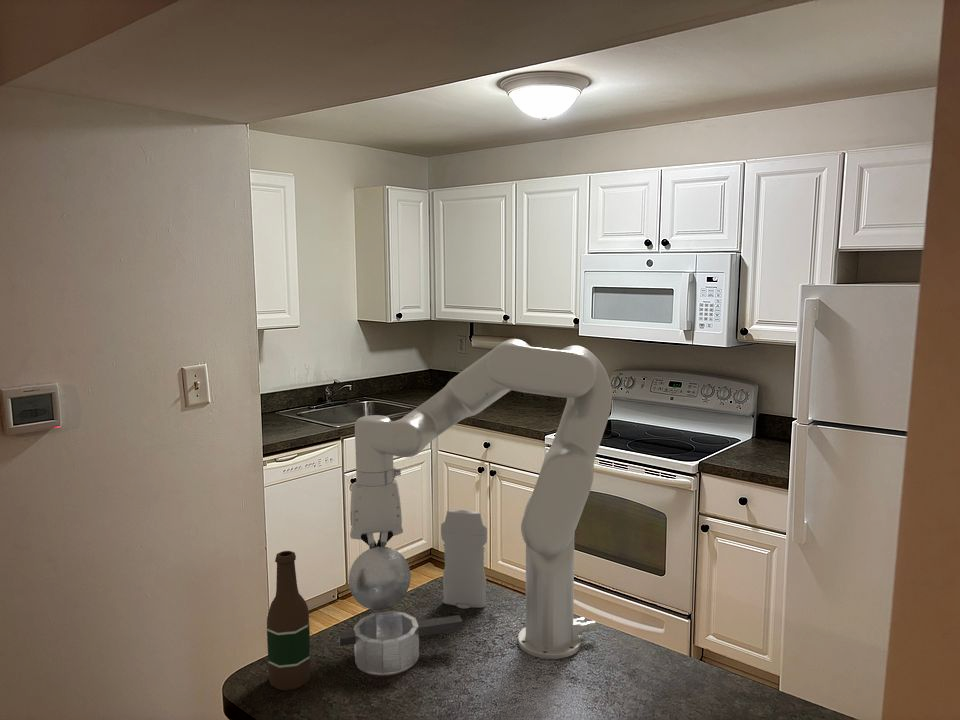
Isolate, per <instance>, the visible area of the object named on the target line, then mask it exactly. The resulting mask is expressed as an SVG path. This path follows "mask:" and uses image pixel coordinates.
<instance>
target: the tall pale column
mask: <svg viewBox="0 0 960 720" xmlns="http://www.w3.org/2000/svg"><path fill="white" fill-rule="evenodd" d="M481 514H482V513H481V512H477V511H472V510H467V509H456V510H455V509H452V510H451V509H450V510H447V511H446V515H445V519H444V521H443V522H442V523H441V524H440V535H441V536H440V537H441V540H442V542H444V543H443V545H442V546H443V547H444V548H443V551H444V552H443V553H444V554H443V556H444V557H443V558H444V563H443V564H444V565H445V566H444V569H443V574H442V579H443V581H442V582H443V583H442V584H443V585H442V586H443V604H444V605H448V606H453V607H457V608H459V609H483V608H486V607H487V597H486V596H487V576H486V572H485V571H484V568H485V550H486V548H485V545H486V544H487V543H488V527H487V526H486V525H485V524H484V522H483V518H482V515H481Z"/></svg>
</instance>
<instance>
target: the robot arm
mask: <svg viewBox="0 0 960 720" xmlns="http://www.w3.org/2000/svg"><path fill="white" fill-rule="evenodd" d="M511 391H514V392H520V393H526V394H532V395H533V394H534V395H541V396H549V397H556V398H565V399H566V403H565V405H564V410H563V412H562V415H561V418H560V422H559V425H558V428H557V430H556V433H555V436H554V438H553V441H552V442H551V445H550V447H549V448H548V450H547V452H546V454H545V456H544V459H543V462H542V465H541V468H540V471H539V475H538V477H537V480H536V483H535V485H534V487H533V491H532V493H531V495H530V497H529V499H528V500H527V503H526V505H525V508H524V514H523V516H522V520H521V523H520V524H521V525H520V531H521V532H520V533H521V535H522V539H523V541H524V543H525V627H523V628H522V629H521V630H520V631H519V632H518V635H517V645H518V646H519V647H520V649H521V650H522V651H523V652H525V653H527V654H528V655H529V656H532V657H535V658H538V659H545V660H560V659H564V658H568V657H571V656H573V655H574V654H577V652H578V651H580V648H582V647H581V645H582V637H581V635H582V634H583V633H590V632H595V631H597V623H596V621H595V620H588V621H586V620H585V619H586V618H585V617H577V618H574V606H575V605H574V603H575V602H574V601H575V599H574V596H575V594H574V593H575V592H574V591H575V588H574V587H575V585H574V583H575V579H574V578H575V537H576V536H575V534H576V532H575V531H576V530H577V526H578V524H579V521H580V519H581V516H582V514H583V511H584V508H585V505H586V503H587V501H588V497H589V496H590V492H591V490H592V486H593V481H594V468H595V467H594V465H595V459H596V456H597V454H598V450H599V448H600V445H601V442H602V440H603V435H604V433H605V430H606V427H607V424H608V420H609V418H610V413H611V411H612V401H613V398H612V397H613V395H612V385H611V380H610V378H609V375H608V372H607V370H606V369H605V367H604V365H603V364H602V362H601V361H600V360H599V358H598V357H597V356H596V355H595V354H594V353H593V352H591V351H590V350H589V349H587V348H586V347H583V346H581V345H570V346H566V347H563V348H562V349H552V348H543V347H535V346H530V344H528V343H527V342H526V341H524V340H522V339H519V338H510V339H506V340H504V341H502V342H501V343H500V344H498V345H497V346H496V347H494V348H493V349H492V350H490V351H487V353H486V354H484V355H483V356H481V357H480V358H479V359H477V360H476V361H474V362H473V363H472V364H471V365H469V366H468V367H466V368H464V369H463V370H462V371H461V372H458V374H457V375H455V376H454V377H453V378H451V379H450V380H449V381H448V382H447V383H446V385H445V386H444V387H442V389H440V390H439V391H438V392H436V393H435V394H433V395H432V396H431V397H430V398H428V399H426V401H424V402H423V403H421V404H420V405H419V406H417V407H416V408H414V409H413V410H412V411H410V412H409V413H407V414H406V415H404V416H403V417H401V418H400V419H397V420H391V419H390V417H388V416H386V415H380V414H379V415H378V414H374V415H365V416H361V417H359V418H357V419H356V421H355V423H354V443H355V444H354V445H355V447H354V448H355V449H354V450H355V472H356V473H355V475H356V478H355V479H356V480H355V482H353V483H352V486H351V491H350V492H351V493H350V510H349V511H350V515H349V516H350V517H349V518H350V526H351V529H350V533H349V536H350V539H352V540H357V541H358V540H360V541H361V540H362V541H363V542H364V543H365V544H366V545H367V546H368V549H371V548H374V547H387V544H388V542H389V541H390V540H391V539H392V538H393V537H394V536H395V537H396V536H398V535H401V534H403V533H404V530H403V525H402V522H403V520H402V519H403V518H402V517H403V516H402V515H403V514H402V507H401V496H400V491H399V490H400V489H399V485H398V481H397V480H396V477H399V476H401V475H402V472H401V469H400V468H395V466H394V456H395V457H399V458H412V457H415V456H417V455H419V454H420V453H421V452H422V451H423V450H425V448H426V447H427V446H428V445H429V444H430V443H431V442H432V441H434V440H435V439H436V438H438V437H440V435H442V434H443V433H445V432H446V431H447V430H449V429H450V428H452V427H453V426H454V425H456V424H458V423H459V422H460V421H462V420H464V419H466V418H469V417H474V416H476V415H478V414H480V413H481V412H483V411H484V410H485V409H486V408H487V407H490V406H491V405H492V404H493V403H495V402H496V401H497V400H499V399H501V398H502V397H503V396H505V395H507V393H509V392H511ZM377 533H379V535H378V536H379V537H378V539H377V542H376V540H375V537H374V534H377Z"/></svg>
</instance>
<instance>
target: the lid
mask: <svg viewBox="0 0 960 720" xmlns="http://www.w3.org/2000/svg"><path fill="white" fill-rule="evenodd" d="M411 576H412V574H411V568H410V566H409V562H408V561H407V559H406V558H405V557H404V556H403V555H402V553H400V552H399V551H398V550H396V549H394V548H392V547H387V546H385V547H374V548H371V549H370V548H368V549H367V550H365V551H363V552H362V553H360V555H358V557H356V559H355V560H354V562H353V563H352V564H351V568H350V570H349V574H348V586H349V590H350V592H351V593H350V594H351V596H352V598H353V599H354V600H355V601H356V602H357V604H359V605H360V606H361V607H364V608H366V609H369V610H372V611H381V610H388V609H389V608H390V609H391V608H392V607H394V606H396V605H397V604H398V603H399V602H400V601H402V599H403V598H404V597H405V595H406V594H407V592H408V590H409V587H410V584H411V579H412V577H411Z"/></svg>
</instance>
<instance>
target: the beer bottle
mask: <svg viewBox="0 0 960 720" xmlns="http://www.w3.org/2000/svg"><path fill="white" fill-rule="evenodd" d="M296 559H297V556H296V553H295V552H294V551H292V550H283V551H280V552H278V553H276V555H275V559H274V562H275V563H276V584H275V585H276V587H275V588H276V591H275V596H274V598H273V599H272V601H271V603H270V606H269V609H268V613H267V616H266V617H267V618H266V637H267V638H266V639H267V641H266V642H267V643H266V644H267V662H268V664H267V665H268V679H269V680H268V681H269V685H270V686H272V687H273V688H276V689H277V690H279V691H288V690H298V689H299V688H300V687H302V686H304V685H306V684H307V683H309V682H310V679H311V671H312V669H311V667H312V666H311V665H312V659H311V658H312V656H311V654H312V653H311V638H310V637H311V635H310V634H311V633H310V629H311V628H310V613H309V606H308V604H307V602H306V600H305V599H304V597H303V596H302V594H300V592H299V587H298V584H297V583H298V580H297V573H296V564H295V563H296V562H295V561H296Z"/></svg>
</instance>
